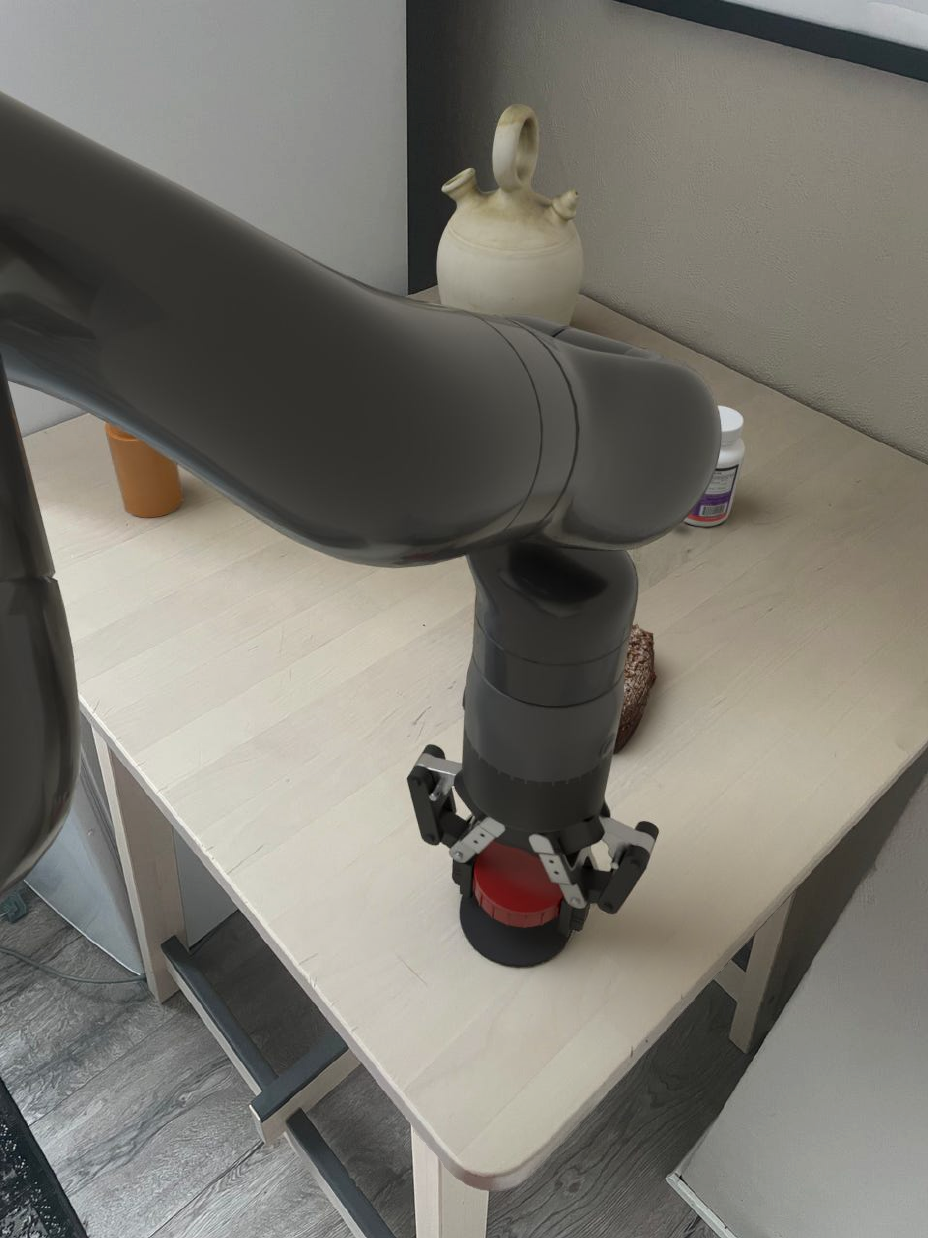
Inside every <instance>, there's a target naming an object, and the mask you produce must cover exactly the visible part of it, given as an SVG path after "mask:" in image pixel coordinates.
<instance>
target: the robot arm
mask: <svg viewBox="0 0 928 1238" xmlns="http://www.w3.org/2000/svg"><path fill="white" fill-rule="evenodd" d="M9 383H13V384H15V385H19V386H22V387H25V388H29V389H32V390H35V391H38V392H41V393H43V394H45V395H48V396H51V397H52V398H55V399H58V400H59V401H62V402H65V403H67V404H70V405H72V406H74V407H76V408H79V409H80V410H82V411H84V412H86V413H88V414H90V415H91V416H94V417H95V418H96V419H97V418H98V419H100V420H101V421H102V422H105V423H106V422H107V423H109V424H111V425H112V426H114V427H116V428H118V429H120V430H122V431H124V432H126V433H128V434H130V435H131V436H133V437H135V438H137V439H138V440H140V441H141V442H143V443H145V444H146V445H148V446H149V447H151V448H152V449H154V450H155V451H157V452H159V453H160V454H162V455H163V456H165V457H166V458H168V459H170V460H171V461H173V462H174V463H176V464H177V466H178V467H181V468H182V469H183V470H185V471H186V472H187V473H189V474H191V475H192V476H193V477H194V478H196V479H197V480H199V481H200V482H202V483H203V484H205V485H206V486H208V487H209V488H211V489H212V490H213V491H215V492H216V493H217V494H219V495H220V496H222V497H223V498H225V499H226V500H227V501H229V502H231V503H233V504H234V505H235V506H237V507H239V508H240V509H242V510H243V511H244V512H246V513H247V514H249V515H251V516H252V517H254V518H255V519H257V520H258V521H260V522H262V523H263V524H265V525H267V526H268V527H269V528H271V529H273V530H275V531H276V532H277V533H279V534H281V535H283V536H284V537H287V538H288V539H290V540H292V541H293V542H296V543H297V544H300V545H302V546H304V547H307V548H309V549H311V550H314V551H316V552H319V553H321V554H323V555H326V556H328V557H332V558H334V559H336V560H340V561H342V562H343V561H345V562H347V563H352V564H355V565H361V566H368V567H375V568H386V569H405V568H417V567H426V566H432V565H437V564H441V563H444V562H447V561H451V560H455V559H459V558H462V557H465V559H466V563H467V565H468V569H469V572H470V575H471V576H472V580H473V583H474V586H475V588H474V589H475V595H474V597H475V598H474V611H473V614H474V615H473V632H472V650H471V655H470V659H469V663H468V667H467V672H466V679H465V687H464V690H463V694H462V709H463V711H464V712H463V714H464V715H463V733H462V734H463V736H462V755H461V756H462V759H461V762H457V761H453V760H449V759H447V758H446V754H445V752H444V750H443V749H442V748H441V747H440V746H438V745H436V744H433V743H430V744H427V745H425V747H424V749H423V750H422V752H421V754H420V755H419V757H418V758H417V760H416V761H415V763H414V764H413V766H412V768H411V770H410V772H409V773H408V775H407V777H406V784H407V787H408V792H409V795H410V799H411V802H412V806H413V810H414V814H415V815H414V816H415V819H416V823H417V826H418V830H419V835H420V837H421V839H422V840H423V841H424V842H425V843H426V844H428V845H430V846H435V847H436V846H439V845H440V844H442V845H444V846H445V847H447V848H448V849H449V850H448V855H449V856H450V858H451V859H452V866H451V867H452V869H451V872H452V873H451V879H452V881H453V882H454V884H455V885H458V886H459V895H461V896H462V895H464V896H466V897H468V898H472V896H473V894H474V892H473V880H474V864H475V861H476V859H477V857H478V855H479V853H480V852H481V851H482V850H483V849H484V848H485V847H487V846H488V845H489V844H490V843H491V842H492V841H493V840H494V842H497V843H500V844H502V845H505V846H508V847H513V848H518V849H521V850H523V851H525V852H526V853H528V854H530V855H532V856H534V857H536V858H539V859H541V861H542V863H543V865H544V867H545V870H546V872H547V874H548V876H549V878H550V881H551V882H552V883H555V884H559V887H560V889H561V891H562V893H563V895H564V897H563V899H562V902H561V908H560V914H559V920H558V925H557V931H556V933H559V934H561V935H564V936H566V937H568V935H569V933H570V931H571V930H573V932H575V933H579V932H581V931H582V930H583V929H584V926H585V925H586V921H587V918H588V915H589V913H590V911H591V907H592V905H593V904H594V905H597V908H598V909H599V910H600V911H602V912H603V913H605V914H607V915H616V914H618V913H619V911H620V910H621V908H622V906H623V905H624V904H625V902H626V900H627V899H628V898H629V896H630V894H631V892H633V890H634V888H635V887H636V885H637V883H638V882H639V881H640V879H641V878H642V876H643V874H644V873H645V871H647V868H648V864H649V861H650V859H651V856H652V853H653V851H654V848H655V846H656V843H657V840H658V837H659V835H660V829H659V827H658V826H657V825H656V824H654V823H652V822H650V821H647V820H640V821H638V823H637V824H636V825H635V827H634V828H633V827H631V826H629V825H626V824H625V823H622V822H621V821H618V820H617V819H614V818H612V816H611V810H610V807H609V805H608V803H607V801H606V791H607V786H608V781H609V776H610V771H611V767H612V762H613V761H612V760H613V756H614V754H613V751H614V746H615V741H616V737H617V732H618V727H619V721H620V716H621V711H622V706H623V699H624V669H625V662H626V657H627V652H628V647H629V642H630V636H631V631H632V626H633V625H634V621H635V617H636V612H637V605H638V601H639V585H640V584H639V577H638V571H637V567H636V564H635V562H634V561H633V559H632V557H631V555H630V554H629V552H628V551H632V550H635V549H640V548H642V547H645V546H647V545H650V544H652V543H654V542H656V541H658V540H660V539H662V538H663V537H664V536H666V535H668V534H670V533H671V532H672V531H673V530H674V529H676V528H677V527H678V526H679V525H680V524H681V523H683V522H684V520H685V519H686V518H687V516H688V515H689V514H690V513H691V512H692V511H693V510H694V508H695V507H696V506H697V504H698V503H699V501H700V500H701V499H702V497H703V495H704V494H705V492H706V490H707V488H708V486H709V484H710V482H711V480H712V478H713V475H714V472H715V469H716V466H717V463H718V459H719V455H720V449H721V439H722V427H721V418H720V413H719V409H718V406H719V405H718V402H717V399H716V397H715V394H714V392H713V389H712V388H711V386H710V385H709V383H708V381H706V379H705V378H704V377H703V376H702V374H701V373H699V372H698V371H697V370H696V369H695V368H693V367H692V366H691V365H690V364H688V363H686V362H684V361H682V360H680V359H677V358H675V357H672V356H669V355H667V354H663V353H660V352H657V351H654V350H650V349H647V348H644V347H640V346H637V345H633V344H632V343H631V344H630V343H628V342H627V343H626V342H623V341H620V340H617V339H613V338H610V337H608V336H604V335H600V334H597V333H593V332H590V331H586V330H583V329H580V328H577V327H574V326H571V325H569V326H568V325H565V324H561V323H558V322H555V321H552V320H549V319H545V318H541V317H538V316H534V315H526V314H507V315H501V316H497V315H492V314H487V313H483V312H478V311H473V310H468V309H463V308H457V307H452V306H447V305H442V304H441V303H436V302H431V301H424V300H419V299H413V298H410V297H406V296H403V295H400V294H396V293H394V292H393V293H392V292H389V291H387V290H384V289H382V288H378V287H375V286H372V285H370V284H368V283H366V282H365V283H364V282H363V281H360V280H358V279H355V278H354V277H351V276H349V275H347V274H345V273H343V272H340V271H338V270H336V269H334V268H332V267H330V266H328V265H327V264H325V263H322V262H321V261H319V260H317V259H315V258H313V257H312V256H310V255H308V254H307V253H304V252H303V251H300V250H299V249H297V248H296V247H293V246H291V245H290V244H287V243H286V242H284V241H282V240H280V239H278V238H276V237H275V236H272V235H271V234H269V233H267V232H265V231H263V230H262V229H260V228H258V227H257V226H255V225H253V224H252V223H250V222H248V221H247V220H244V219H243V218H241V217H240V216H237V215H236V214H235V213H233V212H231V211H229V210H228V209H226V208H223V207H222V206H220V205H218V204H216V203H214V202H212V201H211V200H209V199H207V198H206V197H203V196H201V195H199V194H198V193H196V192H194V191H192V190H191V189H188V188H187V187H185V186H183V185H182V184H179V183H178V182H176V181H174V180H172V179H170V178H169V177H166V176H165V175H162V174H160V173H159V172H156V171H154V170H152V169H150V168H148V167H146V166H145V165H143V164H140V163H138V162H137V161H134V160H133V159H130V158H129V157H126V156H124V155H122V154H121V153H119V152H116V151H114V150H113V149H111V148H109V147H106V146H105V145H103V144H101V143H99V142H97V141H96V140H94V139H92V138H90V137H88V136H86V135H84V134H83V133H81V132H79V131H76V130H75V129H74V128H71V127H70V126H68V125H66V124H64V123H62V122H60V121H58V120H56V119H54V118H52V117H50V116H49V115H47V114H45V113H43V112H41V111H39V110H38V109H36V108H34V107H32V106H29V105H27V104H26V103H24V102H22V101H21V100H18V99H17V98H14V97H13V96H11V95H9V94H7V93H6V92H3V91H2V90H0V905H2V904H3V903H4V902H5V901H6V900H7V899H8V898H9V897H10V896H12V895H13V894H14V893H15V891H17V889H18V888H19V886H20V885H21V884H23V882H24V881H25V880H26V878H27V877H28V876H29V875H30V874H31V872H32V871H33V870H34V869H35V867H36V866H37V865H38V863H40V861H41V860H42V859H43V857H44V856H45V855H46V854H47V852H48V851H49V850H50V849H51V847H52V846H53V845H54V843H55V842H56V840H57V838H58V836H59V835H60V833H61V831H62V830H63V828H64V826H65V824H66V822H67V819H68V817H69V815H70V813H71V809H72V806H73V802H74V798H75V795H76V793H77V789H78V785H79V782H80V781H79V780H80V774H81V769H82V717H81V707H80V698H79V690H78V689H79V688H78V680H77V672H76V665H75V664H76V663H75V655H74V647H73V643H72V638H71V633H70V628H69V623H68V622H69V621H68V618H67V617H68V616H67V613H66V608H65V604H64V600H63V595H62V593H61V592H62V591H61V589H60V584H59V582H58V579H56V578H54V575H56V573H57V571H56V567H55V564H54V563H55V562H54V560H53V556H52V552H51V548H50V543H49V539H48V536H47V531H46V528H45V524H44V520H43V516H42V511H41V508H40V505H39V504H40V503H39V500H38V496H37V493H36V489H35V484H34V480H33V476H32V472H31V469H30V463H29V460H28V457H27V452H26V448H25V444H24V440H23V435H22V432H21V429H20V424H19V420H18V417H17V413H16V407H15V405H14V399H13V396H12V392H11V389H10V384H9ZM453 787H454V789H453ZM453 790H455V792H456V795H458V797H459V798H460V800H461V801H462V803H464V805H465V806H466V808H467V809H468V810H469V811H470V814H469V815H468V816H467V817H466V818H463V817H461V816H460V815H458V814H457V812H458V809H457V805H456V800H455V795H454V792H453ZM601 841H602V843H605V844H606V846H607V849H608V851H607V854H608V857H609V858H610V859H611V862H610V864H609V865H610V870H601V869H600V868H599V865H598V863H597V860H596V859H595V855H594V853H593V851H592V846H593V845H596V844H599V842H601Z"/></svg>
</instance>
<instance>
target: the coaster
mask: <svg viewBox="0 0 928 1238" xmlns="http://www.w3.org/2000/svg"><path fill="white" fill-rule="evenodd" d="M559 914H560V913H559ZM559 914H558V916H557V917H554V918H553V919H551V920H550V921H548V922H546V923H544V924H543V925H538V926H533V927H526V928H524V927H515V926H510V925H508V926H507V925H506V924H504V923H502V922H500V921H498V920H496V919H494V918H491V916H490V915H489V914H488V913H487V912H486V911H485V910H484V909H483V908H482V906H479V902H478V900H477V898H476V895H475V892H474V894H473V896H472V898H468V897H466V896H464V895H461V898H460V903H459V921H460V927H461V929H462V932H463V934H464V936H465V938H466V940H467V942H468V943H469V944H470V945H471V946H472V947H473V949H474V950H475V951H476V952H478V954H480V955H481V956H482V957H484V958H485V959H487V960H489V961H491V962H492V963H495V964H498V965H499V966H500V965H501V966H504V967H509V968H518V969H520V968H521V969H522V968H523V969H524V968H530V967H531V968H532V967H536V966H539V965H542V964H545V963H547V962H549V961H550V960H552V959H554V958H555V957H556V956H557V955H559V954H560V953H561V952H562V951H563V950H564V949H565V947H566V946H567V945H568V944H569V941H570V939H571V937H572V936H573V932H574V931H573V930H571V931H570V933H569V935H568V937H566V936H564V935H561V934H559V933H556V931H557V925H558V920H559Z"/></svg>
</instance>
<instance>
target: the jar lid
mask: <svg viewBox="0 0 928 1238" xmlns="http://www.w3.org/2000/svg"><path fill="white" fill-rule="evenodd" d="M473 892H475V895H476V898H477V900H478V902H479V906H482V908H483V909H484V910H485V911H486V912H487V913H488V914H489V915H490V916H491V918H494V919H496V920H498V921H500V922H502V923H504V924H506V925H507V926H508V925H510V926H515V927H524V928H526V927H533V926H538V925H543V924H544V923H546V922H548V921H550V920H551V919H553V918H554V917H557V916H558V914H559V913H560V908H561V902H562V899H563V897H564V895H563V893H562V891H561V889H560V887H559V884H555V883H552V882H551V881H550V878H549V876H548V874H547V872H546V870H545V867H544V865H543V863H542V861H541V859H539V858H536V857H534V856H532V855H530V854H528V853H526V852H525V851H523V850H521V849H518V848H513V847H508V846H505V845H502V844H500V843H497V842H494V840H493V841H492V842H491V843H490V844H489V845H488V846H487V847H485V848H484V849H483V850H482V851H481V852H480V853H479V855H478V857H477V859H476V861H475V864H474V880H473Z"/></svg>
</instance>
